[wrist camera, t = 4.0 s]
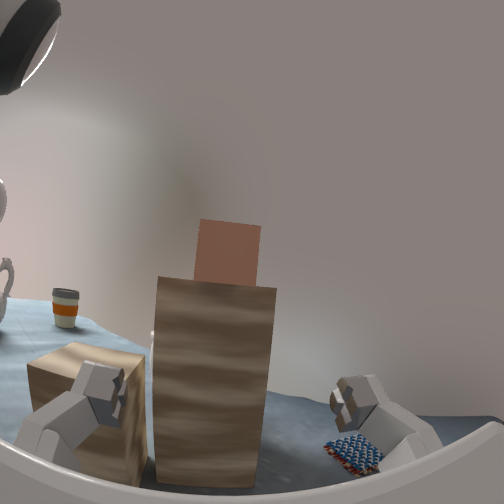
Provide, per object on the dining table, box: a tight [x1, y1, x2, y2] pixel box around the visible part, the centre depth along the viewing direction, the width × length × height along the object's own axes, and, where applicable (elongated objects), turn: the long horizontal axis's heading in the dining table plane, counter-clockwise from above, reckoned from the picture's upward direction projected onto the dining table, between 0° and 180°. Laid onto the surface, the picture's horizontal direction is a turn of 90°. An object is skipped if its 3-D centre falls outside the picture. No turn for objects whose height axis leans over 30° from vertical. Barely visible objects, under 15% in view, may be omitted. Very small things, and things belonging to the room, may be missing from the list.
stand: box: [152, 276, 277, 488], centre depth 34 cm, size 16×12×26 cm
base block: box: [27, 342, 148, 488], centre depth 24 cm, size 12×10×16 cm
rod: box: [193, 219, 261, 287], centre depth 32 cm, size 28×4×4 cm, turn 10°
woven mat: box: [324, 434, 386, 478], centre depth 33 cm, size 10×11×2 cm
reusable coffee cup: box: [52, 288, 79, 328], centre depth 95 cm, size 12×13×15 cm
